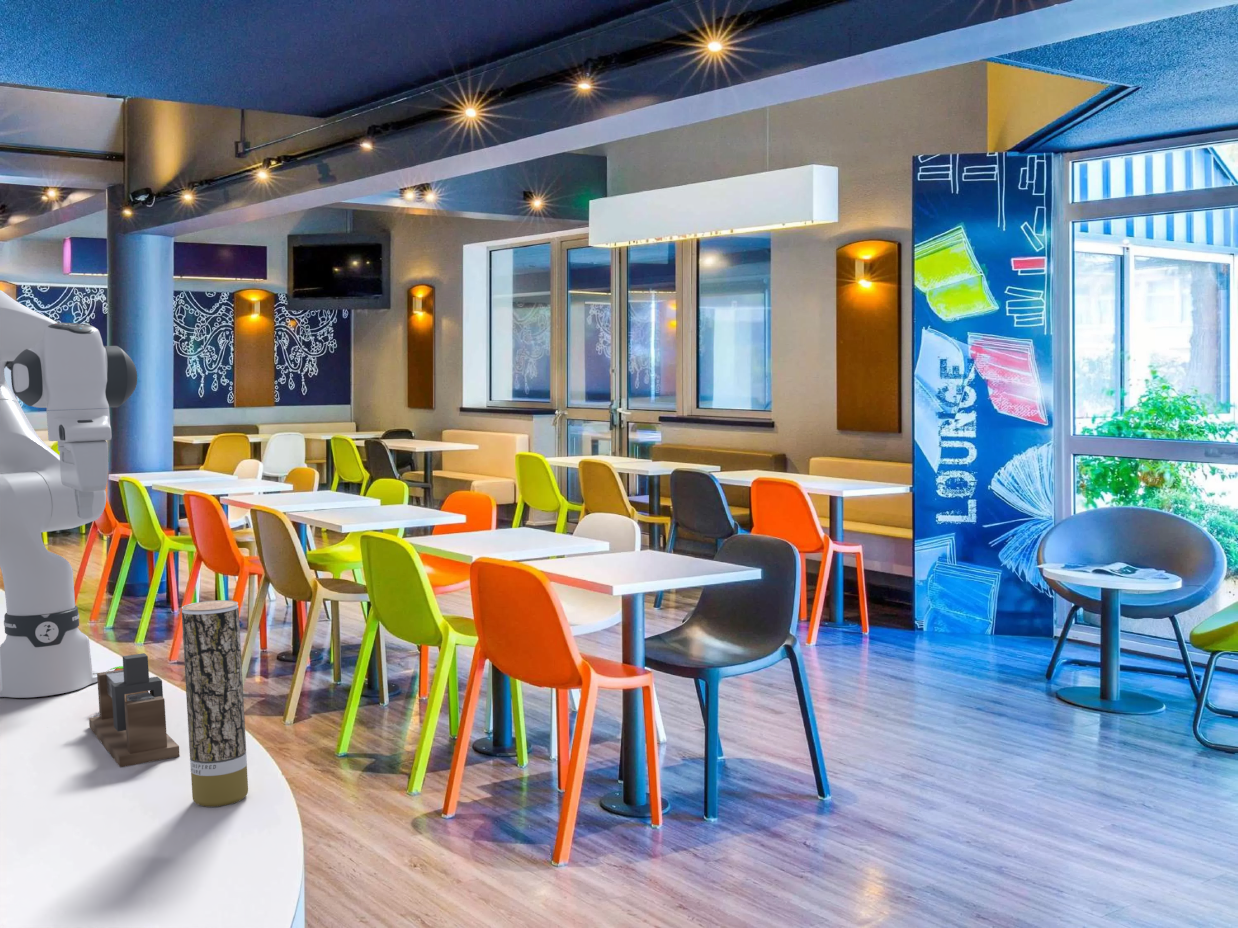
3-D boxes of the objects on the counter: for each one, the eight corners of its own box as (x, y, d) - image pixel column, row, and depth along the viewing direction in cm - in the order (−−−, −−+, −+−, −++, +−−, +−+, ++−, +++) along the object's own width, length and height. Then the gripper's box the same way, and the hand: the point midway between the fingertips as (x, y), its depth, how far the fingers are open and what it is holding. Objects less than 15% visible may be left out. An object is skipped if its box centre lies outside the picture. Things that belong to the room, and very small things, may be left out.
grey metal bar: (105, 692, 188) (104, 672, 188) (126, 689, 190) (125, 669, 190) (134, 723, 170) (132, 701, 170) (157, 719, 171) (155, 698, 171)
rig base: (89, 727, 189) (86, 673, 188) (143, 718, 193) (140, 665, 192) (120, 767, 168) (116, 707, 167) (179, 756, 172) (176, 697, 171)
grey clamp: (113, 726, 174) (109, 657, 174) (160, 718, 178) (155, 651, 177) (117, 731, 172) (113, 661, 171) (164, 723, 175) (160, 654, 175)
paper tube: (231, 809, 149) (220, 610, 147) (181, 807, 150) (170, 610, 149) (258, 791, 156) (248, 600, 154) (210, 789, 157) (200, 600, 155)
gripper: (47, 428, 192) (52, 514, 193) (67, 430, 175) (73, 525, 175) (89, 426, 195) (95, 511, 196) (113, 428, 178) (119, 521, 179)
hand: (85, 517), depth 186 cm, fingers closed
